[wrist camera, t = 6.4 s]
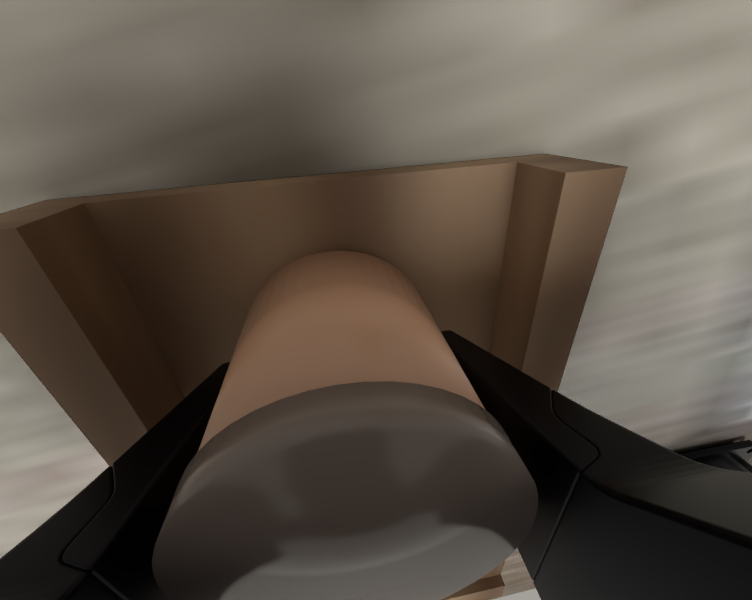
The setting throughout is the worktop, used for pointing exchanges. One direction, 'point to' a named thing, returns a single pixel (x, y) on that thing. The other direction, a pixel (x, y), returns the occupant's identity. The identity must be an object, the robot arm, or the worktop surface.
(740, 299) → the worktop surface
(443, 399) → the jar
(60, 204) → the tray
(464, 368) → the robot arm
